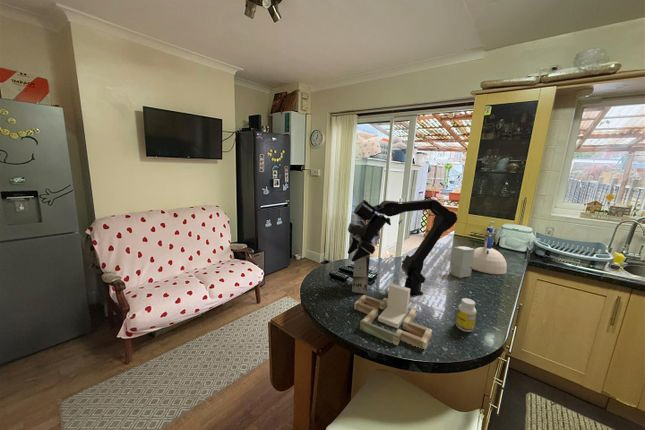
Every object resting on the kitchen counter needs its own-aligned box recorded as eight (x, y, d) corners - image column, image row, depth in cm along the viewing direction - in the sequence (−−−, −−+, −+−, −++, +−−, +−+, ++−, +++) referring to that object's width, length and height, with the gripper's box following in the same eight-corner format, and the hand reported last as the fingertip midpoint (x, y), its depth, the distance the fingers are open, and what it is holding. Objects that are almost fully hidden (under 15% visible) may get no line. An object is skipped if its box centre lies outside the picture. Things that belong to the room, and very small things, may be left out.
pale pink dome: (505, 266, 150) (510, 236, 146) (507, 278, 132) (513, 244, 129) (465, 258, 160) (470, 230, 157) (463, 268, 143) (468, 237, 140)
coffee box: (366, 294, 107) (369, 257, 104) (351, 292, 108) (354, 255, 106) (367, 285, 116) (370, 251, 113) (353, 283, 117) (355, 249, 114)
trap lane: (366, 297, 104) (367, 290, 104) (437, 322, 89) (438, 314, 89) (340, 321, 87) (341, 313, 87) (422, 356, 72) (423, 347, 72)
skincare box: (459, 278, 129) (464, 250, 126) (449, 273, 134) (453, 246, 131) (471, 276, 132) (475, 248, 129) (460, 271, 137) (464, 245, 135)
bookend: (389, 307, 97) (391, 283, 96) (407, 314, 94) (410, 288, 92) (377, 320, 88) (380, 294, 87) (397, 328, 85) (400, 300, 83)
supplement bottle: (452, 322, 89) (456, 296, 88) (466, 322, 90) (470, 296, 88) (461, 332, 84) (466, 305, 82) (477, 332, 85) (481, 305, 83)
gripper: (353, 212, 112) (332, 240, 114) (363, 220, 94) (337, 253, 96) (373, 226, 114) (352, 253, 116) (386, 237, 96) (360, 269, 97)
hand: (350, 257), depth 106 cm, fingers open, 9 cm apart
